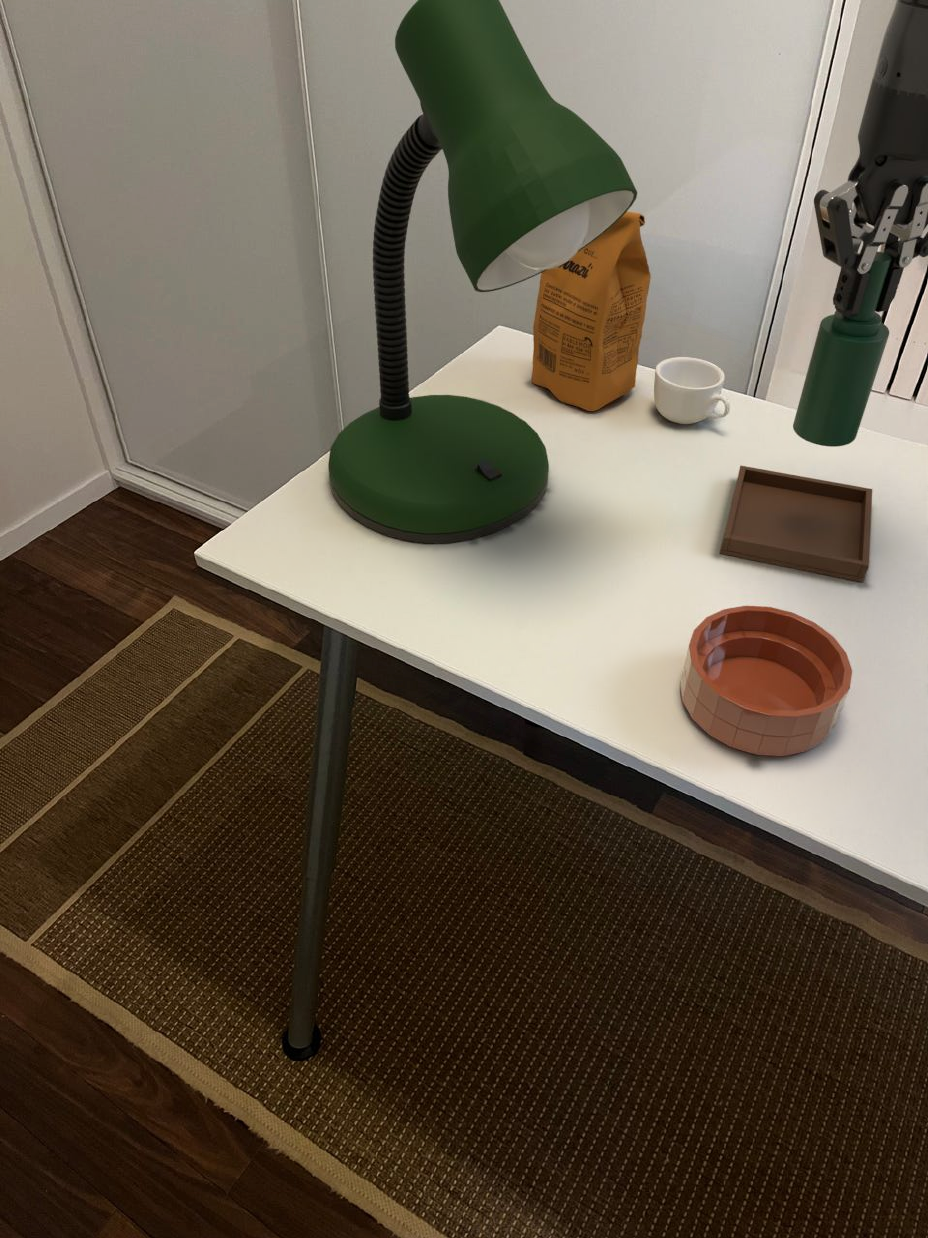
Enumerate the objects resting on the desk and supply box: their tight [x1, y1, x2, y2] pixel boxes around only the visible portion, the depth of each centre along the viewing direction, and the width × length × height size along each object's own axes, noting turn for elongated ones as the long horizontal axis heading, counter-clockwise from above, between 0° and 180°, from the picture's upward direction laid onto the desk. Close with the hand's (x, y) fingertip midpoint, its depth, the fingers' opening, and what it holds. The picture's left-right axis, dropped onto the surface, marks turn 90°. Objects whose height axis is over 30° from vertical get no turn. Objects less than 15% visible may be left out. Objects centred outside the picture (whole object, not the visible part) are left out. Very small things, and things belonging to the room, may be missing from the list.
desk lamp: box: [327, 0, 638, 544], centre depth 83 cm, size 31×23×45 cm
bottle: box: [792, 250, 891, 448], centre depth 81 cm, size 6×6×16 cm
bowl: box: [679, 605, 853, 757], centre depth 75 cm, size 12×12×5 cm
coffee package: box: [531, 211, 652, 412], centre depth 108 cm, size 10×12×22 cm
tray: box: [719, 465, 873, 583], centre depth 93 cm, size 13×13×2 cm
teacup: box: [653, 356, 731, 425], centre depth 108 cm, size 10×8×5 cm
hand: (860, 309), depth 78 cm, fingers closed on bottle, 2 cm apart
